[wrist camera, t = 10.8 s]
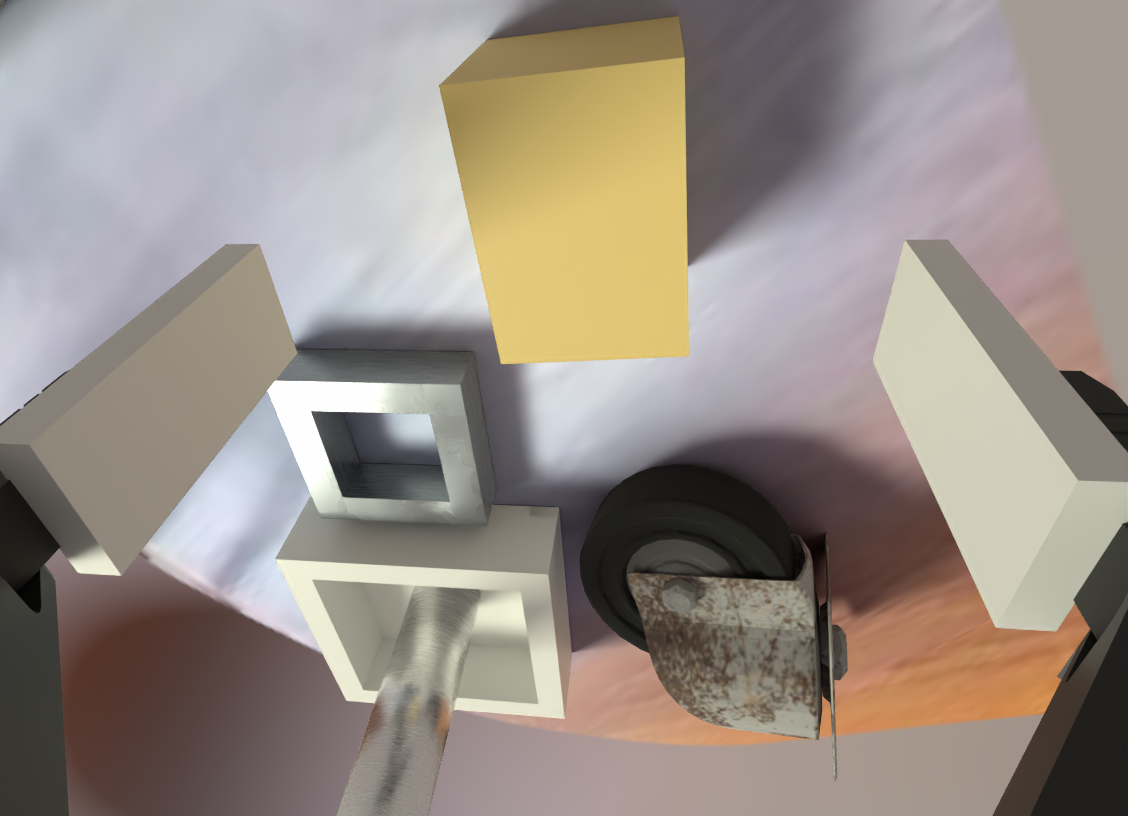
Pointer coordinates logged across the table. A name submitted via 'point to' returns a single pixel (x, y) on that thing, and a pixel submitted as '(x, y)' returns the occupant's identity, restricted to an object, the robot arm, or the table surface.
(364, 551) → the tray
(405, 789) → the pin
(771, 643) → the caster wheel
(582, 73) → the block
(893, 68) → the table surface
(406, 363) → the pin socket
